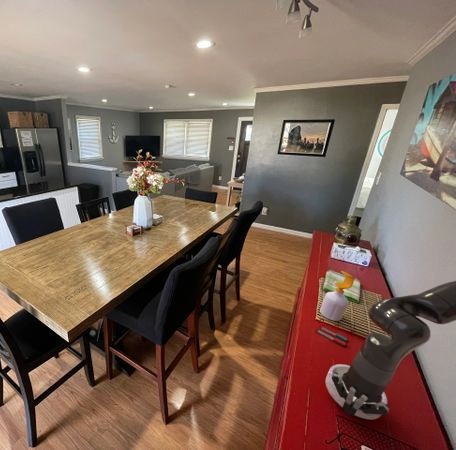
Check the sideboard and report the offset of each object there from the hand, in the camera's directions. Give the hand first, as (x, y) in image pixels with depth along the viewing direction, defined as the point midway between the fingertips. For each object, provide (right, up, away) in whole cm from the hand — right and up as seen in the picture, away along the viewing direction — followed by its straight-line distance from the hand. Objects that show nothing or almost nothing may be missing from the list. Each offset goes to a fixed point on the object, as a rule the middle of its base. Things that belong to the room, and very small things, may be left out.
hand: (347, 411), depth 69 cm
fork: (+24, +5, +38) cm, 45 cm away
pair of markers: (+22, +4, +36) cm, 42 cm away
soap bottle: (+31, +9, +50) cm, 59 cm away
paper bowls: (+10, -6, +12) cm, 17 cm away
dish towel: (+53, +17, +71) cm, 90 cm away
